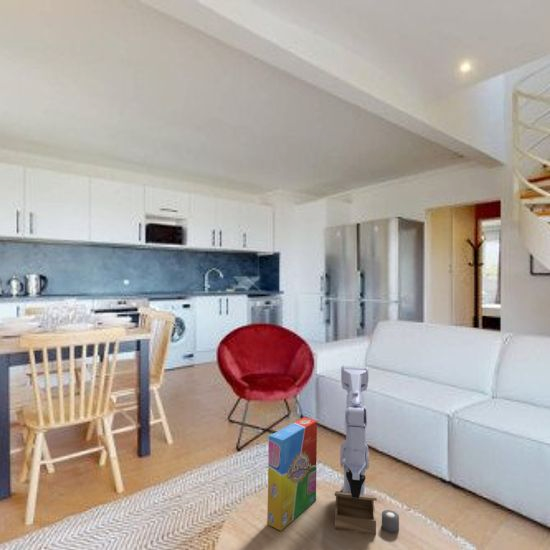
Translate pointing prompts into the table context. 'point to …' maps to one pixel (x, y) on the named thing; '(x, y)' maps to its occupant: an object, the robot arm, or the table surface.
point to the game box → (291, 472)
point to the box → (355, 515)
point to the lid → (362, 496)
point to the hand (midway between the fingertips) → (355, 491)
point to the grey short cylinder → (390, 521)
